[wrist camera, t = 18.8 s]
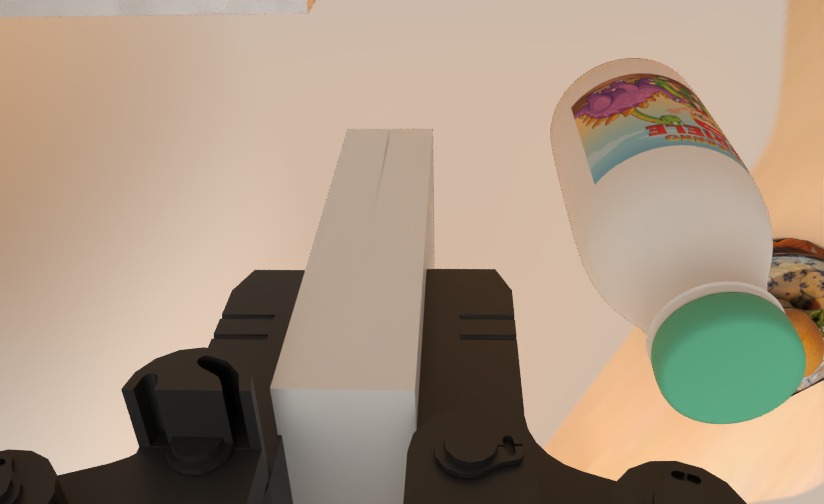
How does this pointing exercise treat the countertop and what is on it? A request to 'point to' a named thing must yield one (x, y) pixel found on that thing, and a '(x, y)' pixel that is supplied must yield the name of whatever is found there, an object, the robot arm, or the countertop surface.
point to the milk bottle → (676, 239)
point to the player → (150, 7)
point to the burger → (801, 299)
